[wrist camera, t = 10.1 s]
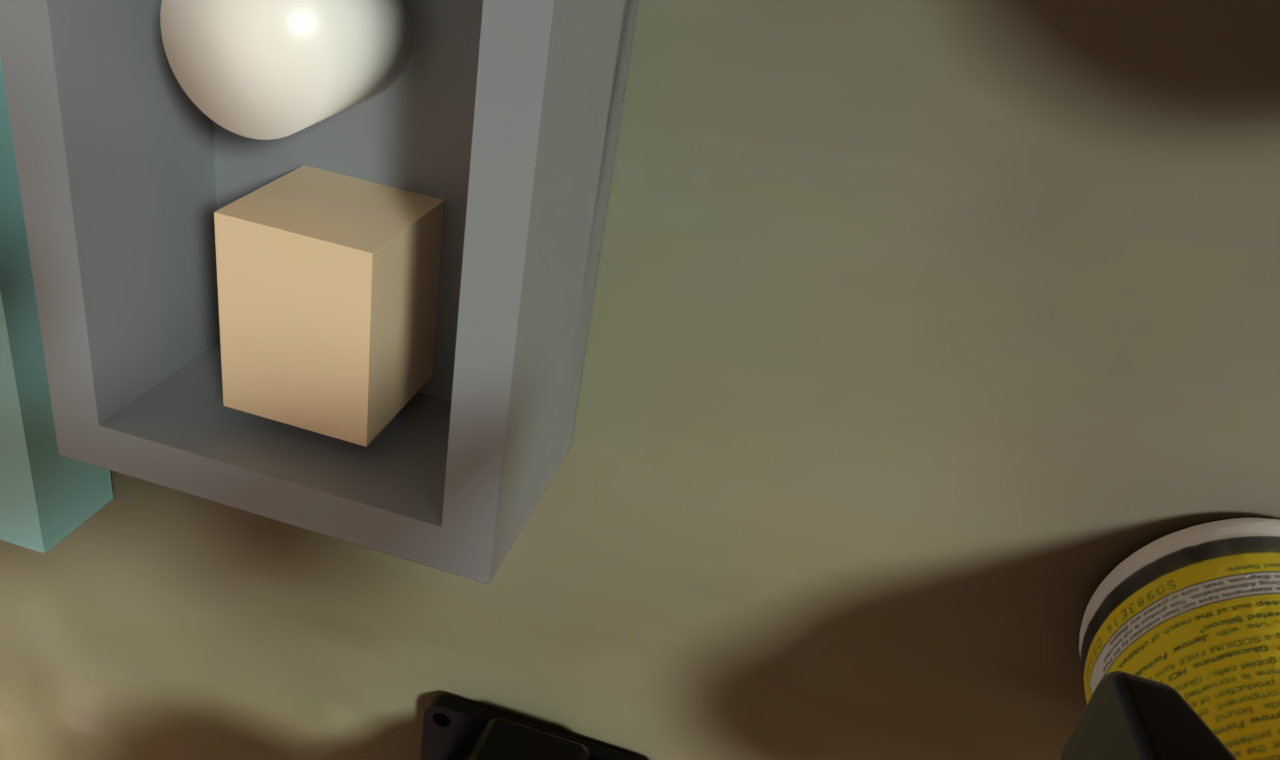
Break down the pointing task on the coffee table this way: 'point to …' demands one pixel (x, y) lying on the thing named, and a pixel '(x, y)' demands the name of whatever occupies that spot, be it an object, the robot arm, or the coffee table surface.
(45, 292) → the storage box
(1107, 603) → the pill bottle
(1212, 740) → the robot arm
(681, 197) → the coffee table surface
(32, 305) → the lid
